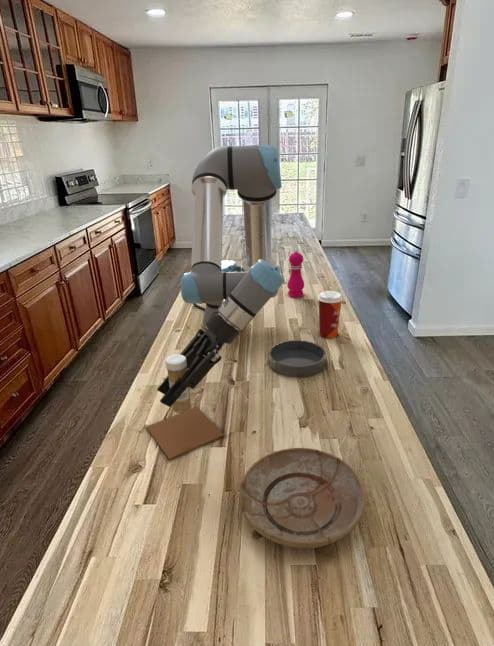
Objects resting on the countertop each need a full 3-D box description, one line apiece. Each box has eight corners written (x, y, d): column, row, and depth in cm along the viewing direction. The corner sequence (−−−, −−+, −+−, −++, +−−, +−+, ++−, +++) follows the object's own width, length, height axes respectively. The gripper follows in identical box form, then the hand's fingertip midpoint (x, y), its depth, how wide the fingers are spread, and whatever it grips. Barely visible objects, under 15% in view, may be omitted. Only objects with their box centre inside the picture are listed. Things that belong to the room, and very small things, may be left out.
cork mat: (146, 428, 107) (146, 426, 107) (197, 408, 114) (197, 406, 114) (169, 460, 97) (169, 458, 97) (224, 436, 104) (223, 434, 104)
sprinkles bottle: (192, 402, 105) (187, 353, 99) (190, 413, 101) (184, 363, 95) (173, 403, 105) (167, 354, 99) (170, 414, 101) (163, 364, 95)
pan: (261, 355, 140) (261, 345, 138) (310, 346, 145) (310, 336, 143) (281, 381, 125) (281, 371, 124) (334, 370, 130) (335, 360, 129)
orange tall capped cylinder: (339, 340, 148) (342, 299, 141) (315, 339, 149) (316, 298, 143) (340, 330, 155) (343, 290, 148) (317, 328, 156) (319, 289, 150)
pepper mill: (307, 293, 189) (308, 248, 180) (299, 299, 183) (299, 252, 174) (292, 291, 192) (292, 246, 183) (284, 296, 187) (284, 250, 178)
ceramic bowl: (244, 464, 95) (243, 446, 93) (352, 465, 94) (354, 447, 92) (235, 561, 74) (233, 541, 72) (374, 563, 73) (377, 542, 71)
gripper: (207, 298, 103) (146, 372, 105) (227, 327, 88) (155, 412, 90) (230, 315, 107) (170, 386, 109) (252, 346, 92) (183, 426, 94)
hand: (163, 397), depth 100 cm, fingers closed on sprinkles bottle, 4 cm apart
